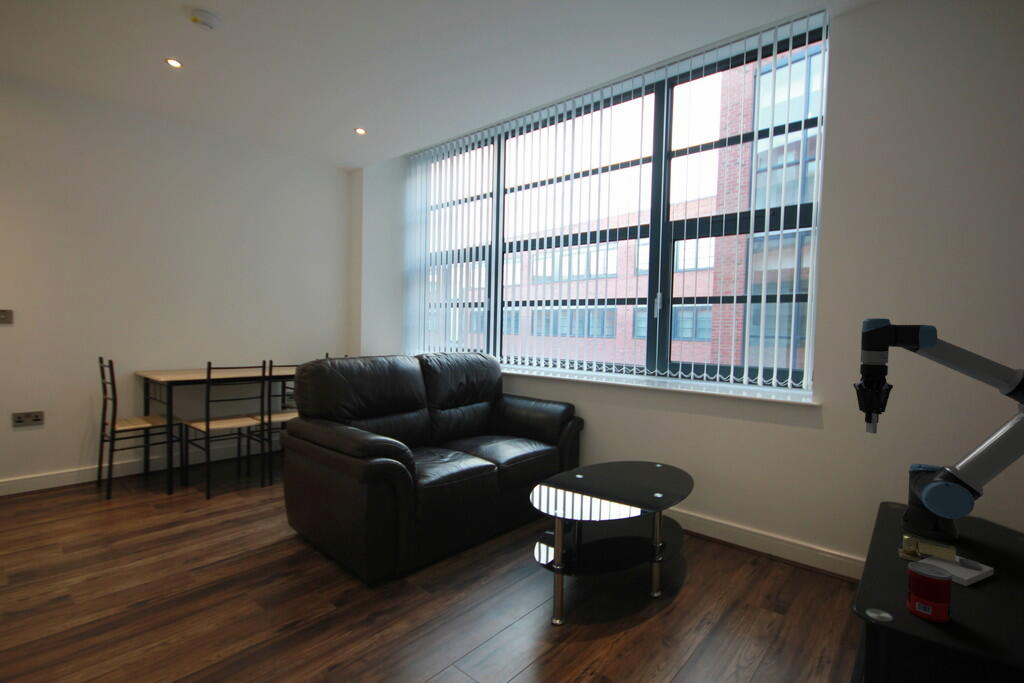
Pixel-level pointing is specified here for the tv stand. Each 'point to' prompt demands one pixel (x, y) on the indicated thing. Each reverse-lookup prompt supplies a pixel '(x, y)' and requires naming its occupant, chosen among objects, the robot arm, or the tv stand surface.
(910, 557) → the jamb plate
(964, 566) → the white flat block
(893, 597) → the tv stand surface
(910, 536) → the latch bar
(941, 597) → the canned food
